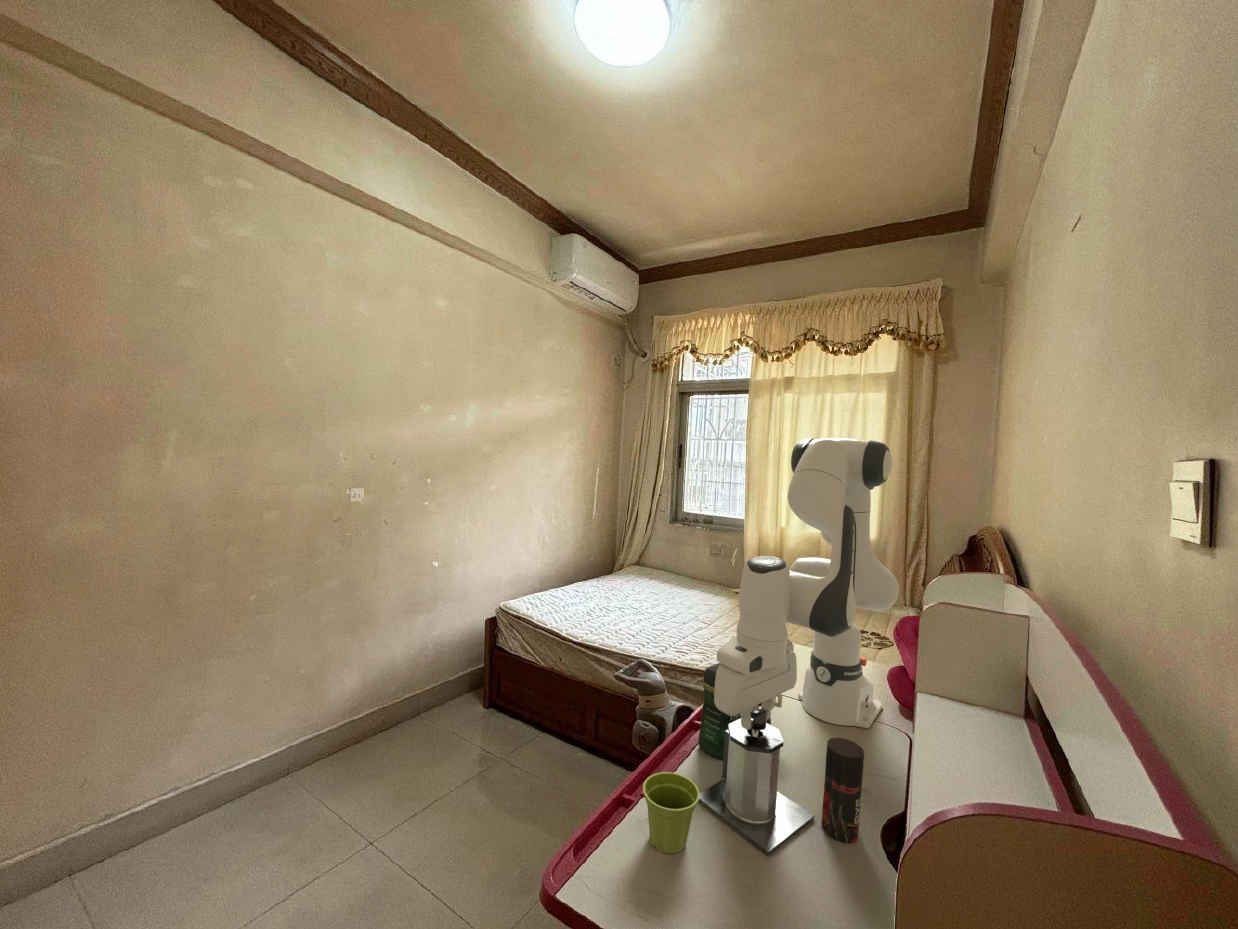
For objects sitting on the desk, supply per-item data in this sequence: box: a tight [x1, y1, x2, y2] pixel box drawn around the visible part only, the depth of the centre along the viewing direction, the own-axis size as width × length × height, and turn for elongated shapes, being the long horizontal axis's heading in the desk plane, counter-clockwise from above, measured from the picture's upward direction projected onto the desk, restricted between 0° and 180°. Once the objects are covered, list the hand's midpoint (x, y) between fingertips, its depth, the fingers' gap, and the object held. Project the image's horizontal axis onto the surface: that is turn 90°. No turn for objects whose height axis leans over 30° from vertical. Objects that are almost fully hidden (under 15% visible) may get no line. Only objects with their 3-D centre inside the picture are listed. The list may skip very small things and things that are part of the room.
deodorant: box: [821, 737, 865, 845], centre depth 88 cm, size 6×6×15 cm
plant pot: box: [642, 771, 700, 855], centre depth 84 cm, size 9×9×9 cm
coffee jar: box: [698, 662, 741, 760], centre depth 111 cm, size 10×8×19 cm
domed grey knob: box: [750, 707, 767, 737], centre depth 91 cm, size 4×4×14 cm
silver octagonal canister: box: [698, 718, 815, 857], centre depth 92 cm, size 14×16×15 cm
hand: (755, 723), depth 91 cm, fingers closed on domed grey knob, 4 cm apart
